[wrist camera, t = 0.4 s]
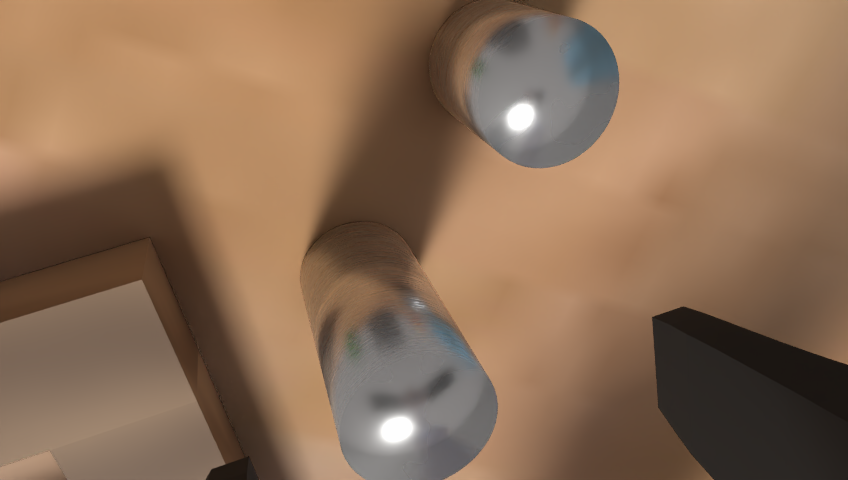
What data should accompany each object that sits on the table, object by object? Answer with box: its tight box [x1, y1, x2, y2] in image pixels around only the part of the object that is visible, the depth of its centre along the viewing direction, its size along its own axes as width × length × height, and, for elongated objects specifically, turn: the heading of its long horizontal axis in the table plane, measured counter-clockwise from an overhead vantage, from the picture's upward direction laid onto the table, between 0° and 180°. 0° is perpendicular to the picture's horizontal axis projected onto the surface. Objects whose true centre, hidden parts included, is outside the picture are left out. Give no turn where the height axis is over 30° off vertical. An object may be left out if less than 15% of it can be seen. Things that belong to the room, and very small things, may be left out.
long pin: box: [300, 222, 498, 480], centre depth 18 cm, size 3×3×7 cm
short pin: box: [429, 0, 619, 168], centre depth 18 cm, size 3×3×4 cm
